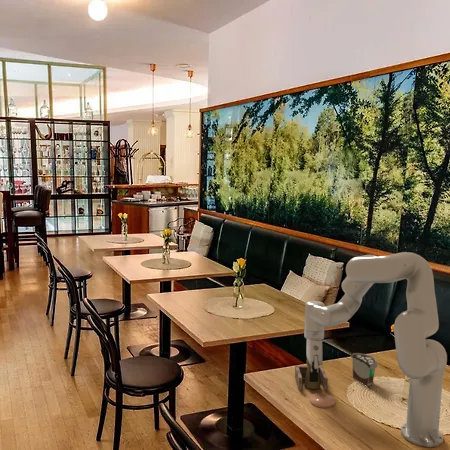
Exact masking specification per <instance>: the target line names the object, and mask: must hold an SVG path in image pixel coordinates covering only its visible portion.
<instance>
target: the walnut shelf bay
mask: <svg viewBox="0 0 450 450" xmlns="http://www.w3.org/2000/svg"><path fill="white" fill-rule="evenodd" d="M307 368H308V366H307V365H295V367H294V379H295V382H296V386H297V390H298V391H302V390H303V387H302V386H303V380H305V379H306V374H307ZM318 368H319V378H320V386H321V387H322V389H323V391H324V392H328V384H329V379H328V376H327V373H326V371H325V369H324V367H323V365H320V366H319V367H318Z"/></svg>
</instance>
